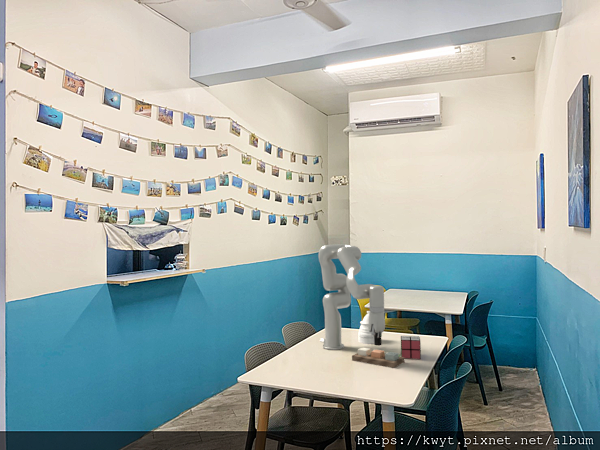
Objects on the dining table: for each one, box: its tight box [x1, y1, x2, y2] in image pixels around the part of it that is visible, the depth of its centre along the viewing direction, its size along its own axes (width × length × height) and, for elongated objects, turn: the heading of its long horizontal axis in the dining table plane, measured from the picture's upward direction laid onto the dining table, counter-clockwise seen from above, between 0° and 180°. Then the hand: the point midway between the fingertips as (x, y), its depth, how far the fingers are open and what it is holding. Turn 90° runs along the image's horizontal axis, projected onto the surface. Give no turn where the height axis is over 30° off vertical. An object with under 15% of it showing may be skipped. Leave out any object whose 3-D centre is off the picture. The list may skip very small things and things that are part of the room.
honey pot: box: [357, 310, 374, 345], centre depth 280 cm, size 13×13×18 cm
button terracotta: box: [371, 349, 385, 359], centre depth 237 cm, size 5×5×3 cm
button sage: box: [384, 351, 400, 361], centre depth 232 cm, size 5×5×3 cm
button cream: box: [357, 347, 372, 356], centre depth 242 cm, size 5×5×3 cm
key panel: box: [351, 352, 405, 369], centre depth 237 cm, size 24×12×2 cm, turn 52°
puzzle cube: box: [400, 335, 422, 360], centre depth 245 cm, size 10×10×10 cm
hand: (377, 345), depth 237 cm, fingers closed
